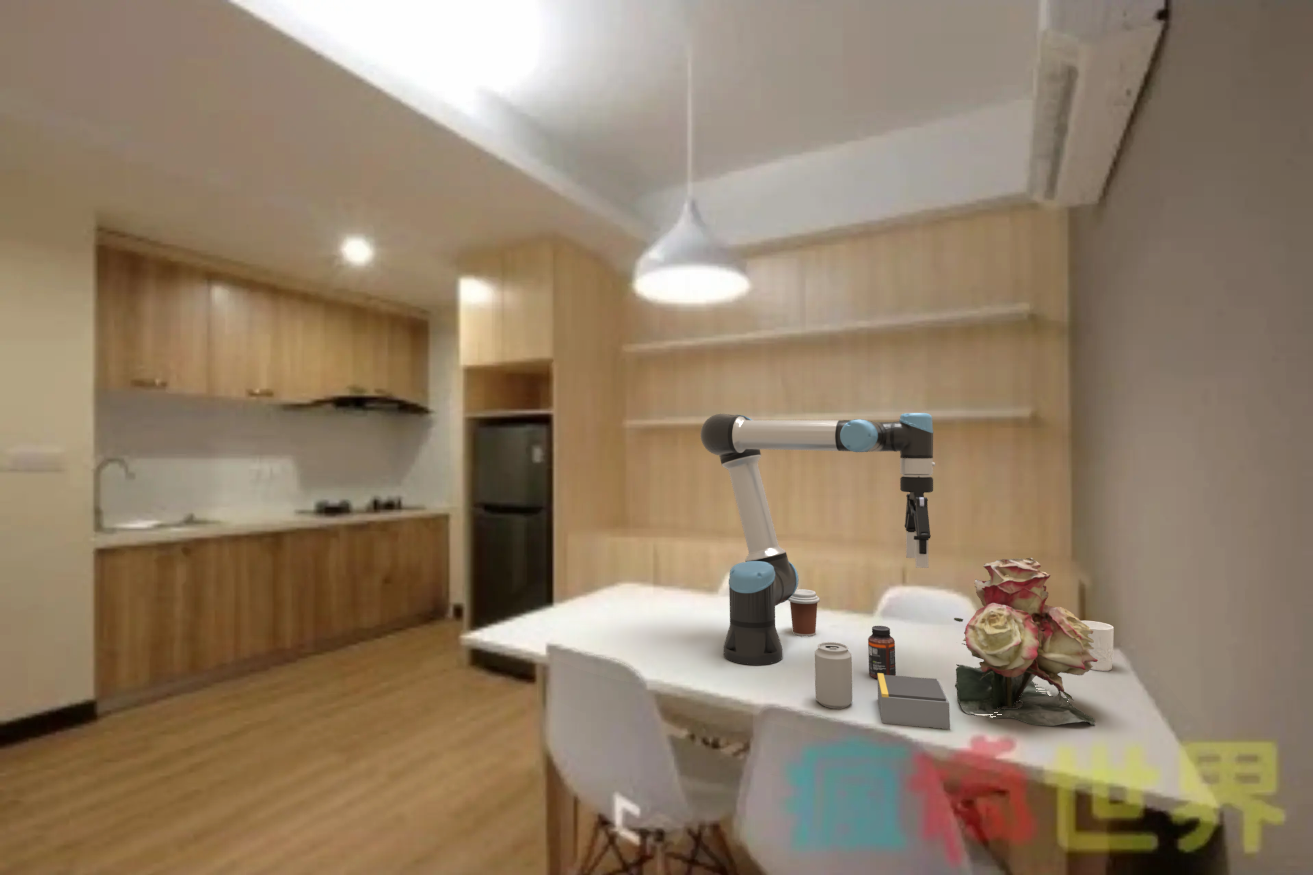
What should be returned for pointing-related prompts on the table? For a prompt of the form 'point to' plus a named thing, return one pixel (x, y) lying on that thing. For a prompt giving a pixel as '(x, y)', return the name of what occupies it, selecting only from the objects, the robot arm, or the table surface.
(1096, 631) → the white cup
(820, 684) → the can
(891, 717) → the block
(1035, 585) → the rose bouquet
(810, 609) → the coffee cup
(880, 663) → the supplement bottle
